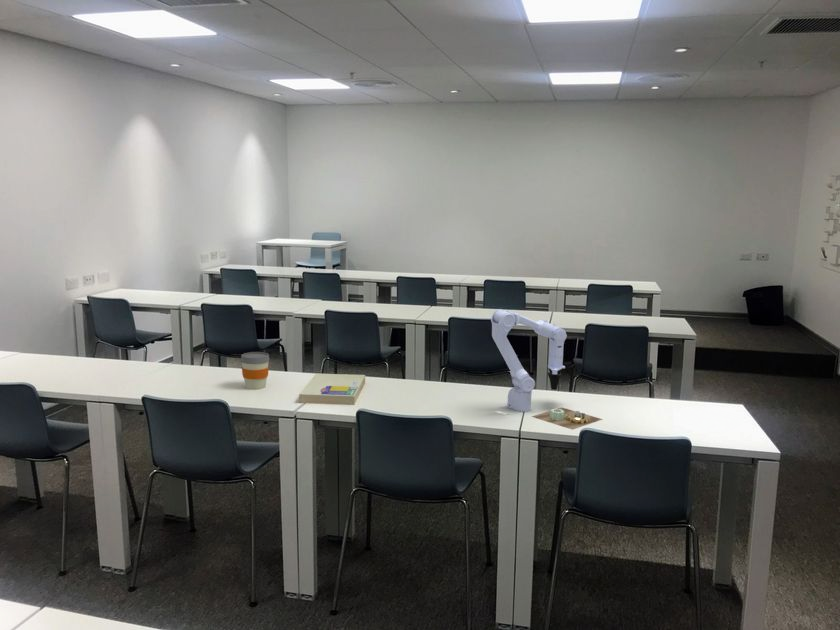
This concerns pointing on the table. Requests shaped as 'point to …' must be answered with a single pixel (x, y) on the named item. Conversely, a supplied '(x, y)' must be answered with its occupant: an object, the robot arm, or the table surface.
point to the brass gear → (577, 418)
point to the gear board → (563, 422)
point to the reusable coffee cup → (255, 369)
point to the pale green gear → (557, 414)
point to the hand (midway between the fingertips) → (554, 387)
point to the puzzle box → (333, 389)
